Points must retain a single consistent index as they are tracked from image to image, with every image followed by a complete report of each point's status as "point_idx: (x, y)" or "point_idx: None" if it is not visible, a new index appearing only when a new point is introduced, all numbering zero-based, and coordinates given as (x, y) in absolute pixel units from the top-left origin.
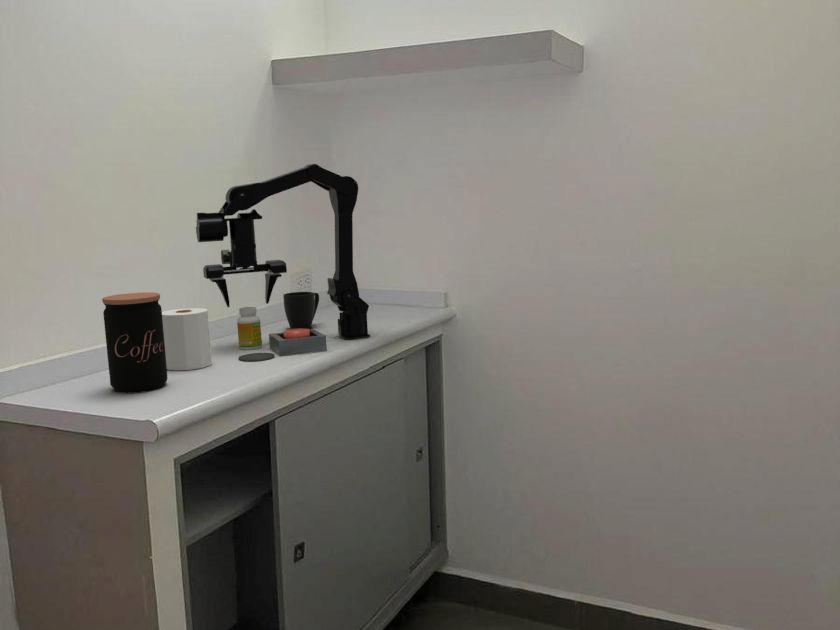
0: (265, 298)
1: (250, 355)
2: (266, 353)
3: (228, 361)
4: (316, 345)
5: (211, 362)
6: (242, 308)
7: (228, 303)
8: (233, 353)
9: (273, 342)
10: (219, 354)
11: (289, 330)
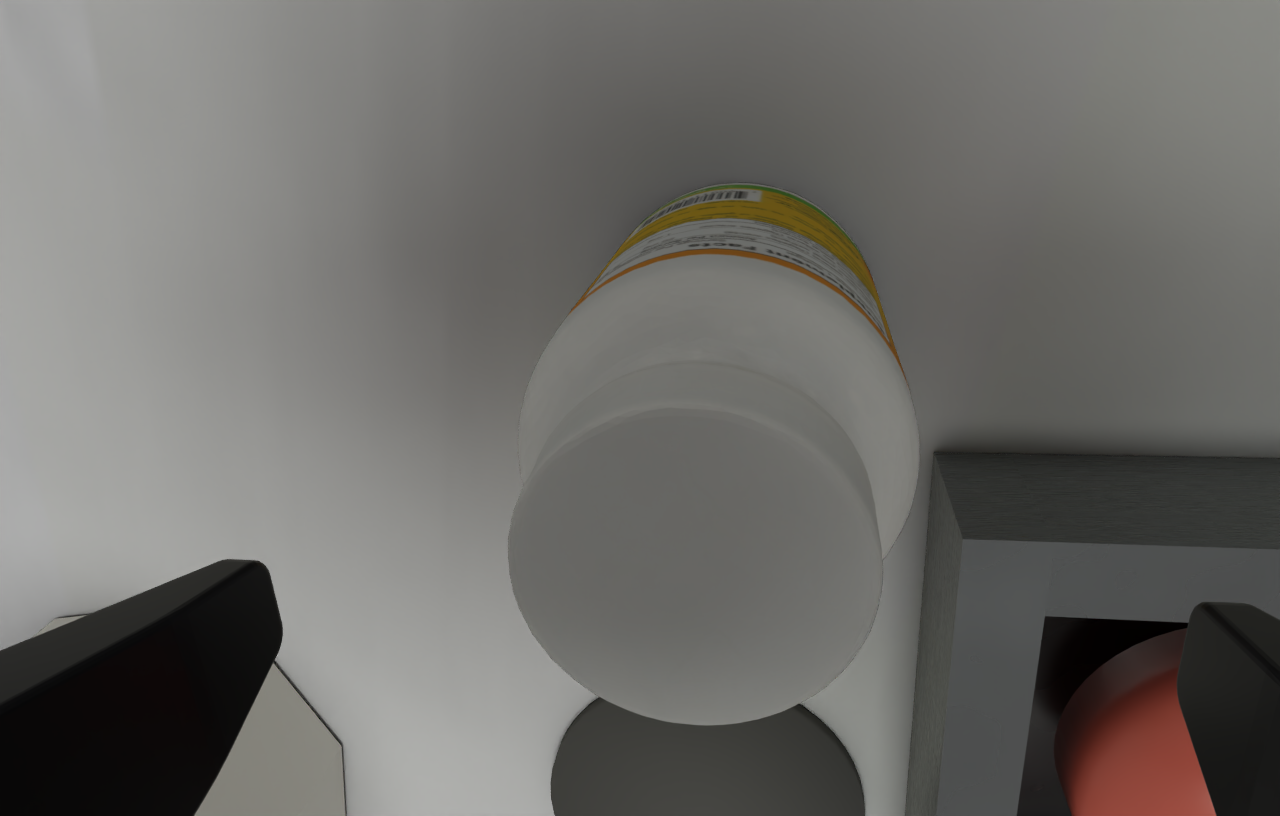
0: (1252, 686)
1: (658, 757)
2: (808, 763)
3: (472, 783)
4: None
5: (342, 769)
6: (575, 563)
7: (223, 726)
8: None
9: (932, 713)
10: (399, 467)
11: (1198, 792)
